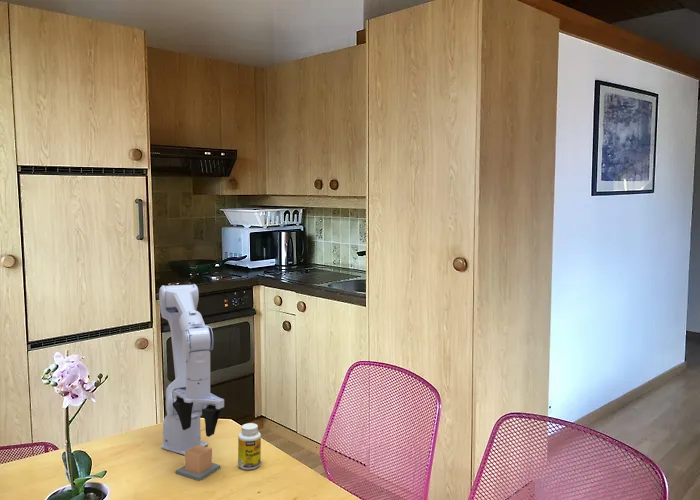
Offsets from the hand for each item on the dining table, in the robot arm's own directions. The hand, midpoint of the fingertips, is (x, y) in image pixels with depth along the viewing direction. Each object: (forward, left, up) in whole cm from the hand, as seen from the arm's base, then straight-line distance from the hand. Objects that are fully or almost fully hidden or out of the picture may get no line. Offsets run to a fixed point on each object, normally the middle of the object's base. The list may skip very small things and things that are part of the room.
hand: (198, 431), depth 140 cm
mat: (0, 0, -10) cm, 10 cm away
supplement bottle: (+9, +8, -10) cm, 16 cm away
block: (0, 0, -9) cm, 9 cm away
